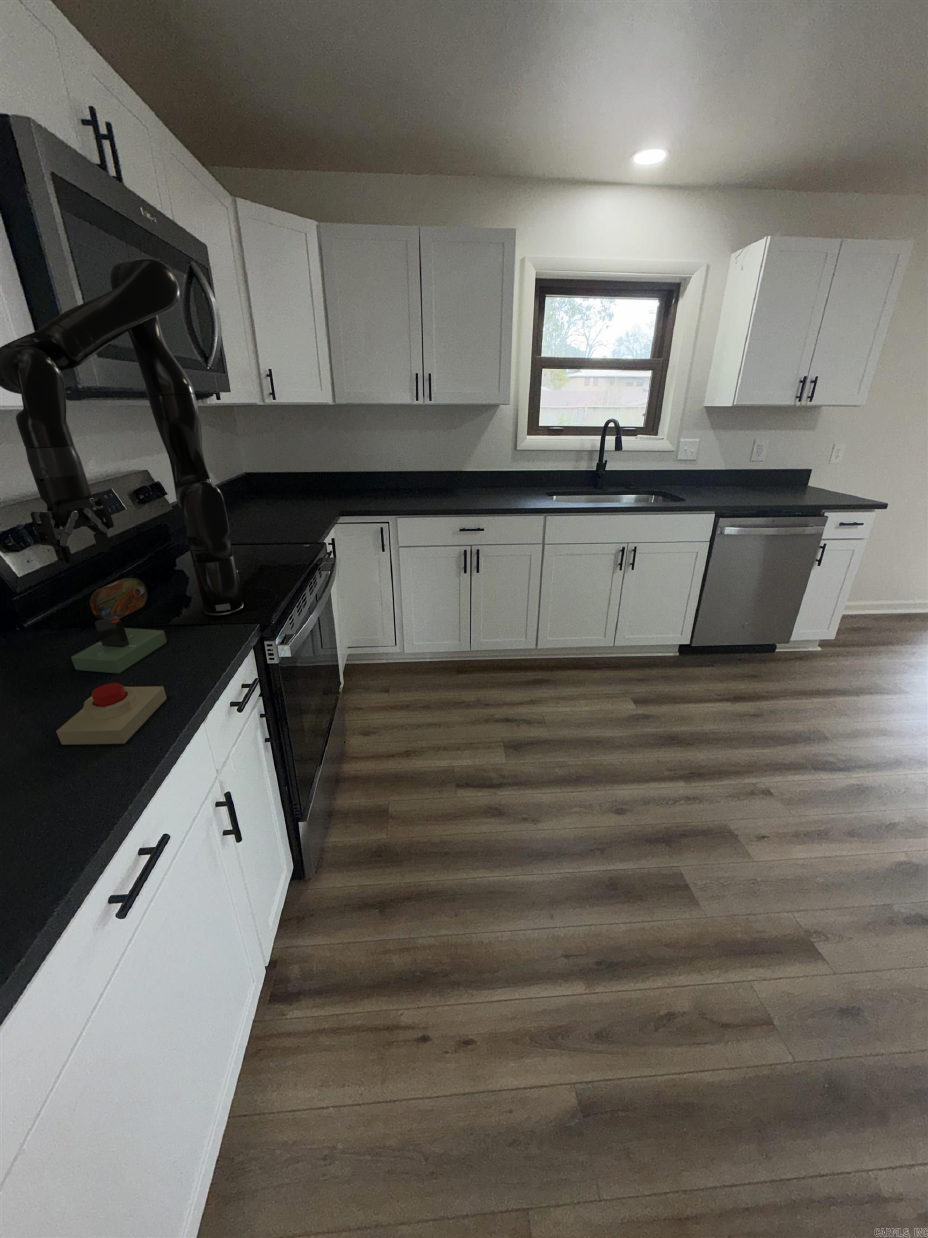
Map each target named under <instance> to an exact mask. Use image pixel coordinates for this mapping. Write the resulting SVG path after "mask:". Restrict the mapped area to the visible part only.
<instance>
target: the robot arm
mask: <svg viewBox="0 0 928 1238" xmlns="http://www.w3.org/2000/svg"><path fill="white" fill-rule="evenodd" d="M109 280H110V281H109V283H110V287H111V290H109V291H107V292H106V293H103V294H102V295H99V296H97V297H95V298H93V299H90V300H88V301H85V302H83V303H81V304H78V305H76V306H73V307H72V308H70V309H68V310H66V311H64V312H62V313H60V314H59V315H57V316H56V317H54V318H53V319H50V321H48V322H47V323H45V324H43V325H42V326H41V327H40V328H38V329H37V330H35V331H33V332H31V333H28V334H25V335H23V336H21V337H18V338H16V339H14V340H11V341H10V342H8V343H6V344H4V345H1V346H0V388H1V389H3V390H5V391H7V392H10V393H13V394H18V395H21V401H22V410H20V411H18V412H17V413H16V415H15V421H16V426H17V428H18V429H17V430H18V431H19V435H20V438H21V440H22V443H23V446H24V447H25V449H24V450H25V453H26V458H27V459H26V460H27V463H28V465H29V469H30V471H31V474H32V477H33V480H34V483H35V485H36V488H37V491H38V494H39V497H40V500H42V501H43V502H44V503H45V505H46V510H43V511H31V512H30V518H31V521H32V524H33V528H34V531H35V534H36V537H37V541H38V544H39V545H40V546H48V547H49V546H50V547H52V548H53V550H54V553H55V556H56V558H57V559H56V560H57V561H58V563H59V564H61V565H62V566H65V567H66V566H67V567H71V566H73V565H75V561H74V558H73V554H72V551H71V548H70V546H69V545H67V544H68V541H69V538H70V536H71V535H73V531H75V530H79V529H80V528H81V527H85V528H87V529H89V530H90V531H91V532H92V535H93V539H94V541H95V545H96V548H97V551H98V552H100V553H109V552H111V543H110V539H109V536H108V532H109V530H110V529H113V528H114V527H115V523H114V520H113V517H112V515H111V512H110V510H109V507H108V503H107V500H106V499H105V498H102V497H92V491H91V489H90V485H89V482H88V478H87V475H86V472H85V469H84V466H83V462H82V459H81V457H80V454H79V453H78V450H77V448H76V445H75V442H74V439H73V436H72V433H71V430H70V426H69V424H68V421H67V396H66V385H65V381H64V376H63V374H62V371H66V370H72V369H75V368H77V367H80V366H81V365H83V364H85V363H86V362H87V361H88V360H90V359H91V358H92V357H94V356H95V355H96V354H98V353H99V352H100V351H102V350H103V349H104V348H106V347H107V346H108V345H110V344H111V343H113V342H114V341H115V340H117V339H118V338H119V337H121V336H123V335H124V334H125V333H127V334H128V336H129V338H130V342H131V344H132V348H133V351H134V354H135V358H136V362H137V364H138V367H139V370H140V374H141V377H142V380H143V384H144V388H145V392H146V395H147V399H148V403H149V407H150V410H151V413H152V416H153V419H154V422H155V425H156V429H157V431H158V433H159V434H158V435H159V436H160V439H161V441H162V444H163V446H164V448H165V451H166V453H167V455H168V460H169V464H170V465H169V466H170V468H171V469H170V470H171V473H172V480H173V485H174V493H175V500H176V502H177V504H178V506H179V507H180V509H181V513H182V516H183V521H184V525H185V529H186V537H187V538H186V539H187V544H188V548H189V552H190V557H191V560H192V564H193V565H192V566H193V569H194V573H195V577H196V581H197V585H198V589H199V595H200V597H201V602H202V607H203V612H204V614H205V616H208V617H226V616H231V615H234V614H236V613H239V612H240V611H242V610H243V609H244V608H245V605H244V604H246V603H245V598H244V593H243V588H242V583H241V578H240V574H239V570H238V569H237V568H236V563H235V558H234V553H233V548H232V543H231V539H230V534H231V532H230V531H231V529H230V525H229V519H228V513H227V508H226V503H225V499H224V496H223V494H222V492H221V490H220V489H219V487H217V486H216V485H215V484H214V483H213V481H212V479H211V476H210V473H209V470H208V467H207V464H206V461H205V457H204V450H203V438H202V434H203V433H202V421H201V414H200V410H199V406H198V402H197V397H196V393H195V389H194V387H193V384H192V382H191V380H190V379H189V377H188V375H187V373H186V372H185V370H184V369H183V367H181V365H180V364H179V362H178V361H177V359H176V358H175V357H174V355H173V354H172V352H171V351H170V349H169V348H168V346H167V343H166V341H165V339H164V336H163V333H162V329H161V325H160V321H159V316H160V315H162V314H167V313H169V312H171V311H173V310H174V309H176V307H177V306H178V305H179V301H180V299H181V298H180V296H181V289H180V285H179V282H178V280H177V278H176V277H175V274H174V273H173V271H172V270H171V269H170V267H168V266H167V265H166V264H165V263H163V262H161V261H159V260H157V259H155V258H148V257H142V258H141V257H140V258H135V259H130V260H125V261H120V262H117V263H116V264H114V265H113V266H112V267H111V270H110V276H109ZM90 497H91V498H90Z"/></svg>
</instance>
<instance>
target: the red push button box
mask: <svg viewBox="0 0 928 1238" xmlns="http://www.w3.org/2000/svg"><path fill="white" fill-rule="evenodd" d="M123 688H124V691H125V694H126V698H125V699H124V700H122V701H120V702H118V703H116V704H113V705H109V706H105V707H97V706H96V705H95V703H94V700H93V697H92V695H91V696H90V697H89V698H88V697H87V699H86V700H85V701H84V703H83V707H82V709H80V710H79V711H78V712H77V713H76V714H75V715H73V716H72V717H71V718H70V719H68V720H67V721H66V722H64V724H62V726H60V727H59V728H58V729H57V730H56V731H55V732H56V735H57V737H58V739H59V741H60V742H59V743H60V744H61V745H62V746H63V745H64V746H66V745H67V746H68V745H121V744H126V743H127V742H128V741H129V740H130V738H132V736H133V735H135V733H137V731H138V730H139V729H140V728H141V727H142V726H143V725H144V724H145V723H146V721H147V720H148V719H149V718H150V717H151V716H152V715H153V714H154V713H155V712H156V711H157V710H158V709H159V708H160V706H161V705H163V703H164V702H165V701H166V700H167V699H168V698H167V694H166V690H165V688H164V686H163V685H162V686H160V685H159V686H157V685H156V686H123Z"/></svg>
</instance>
